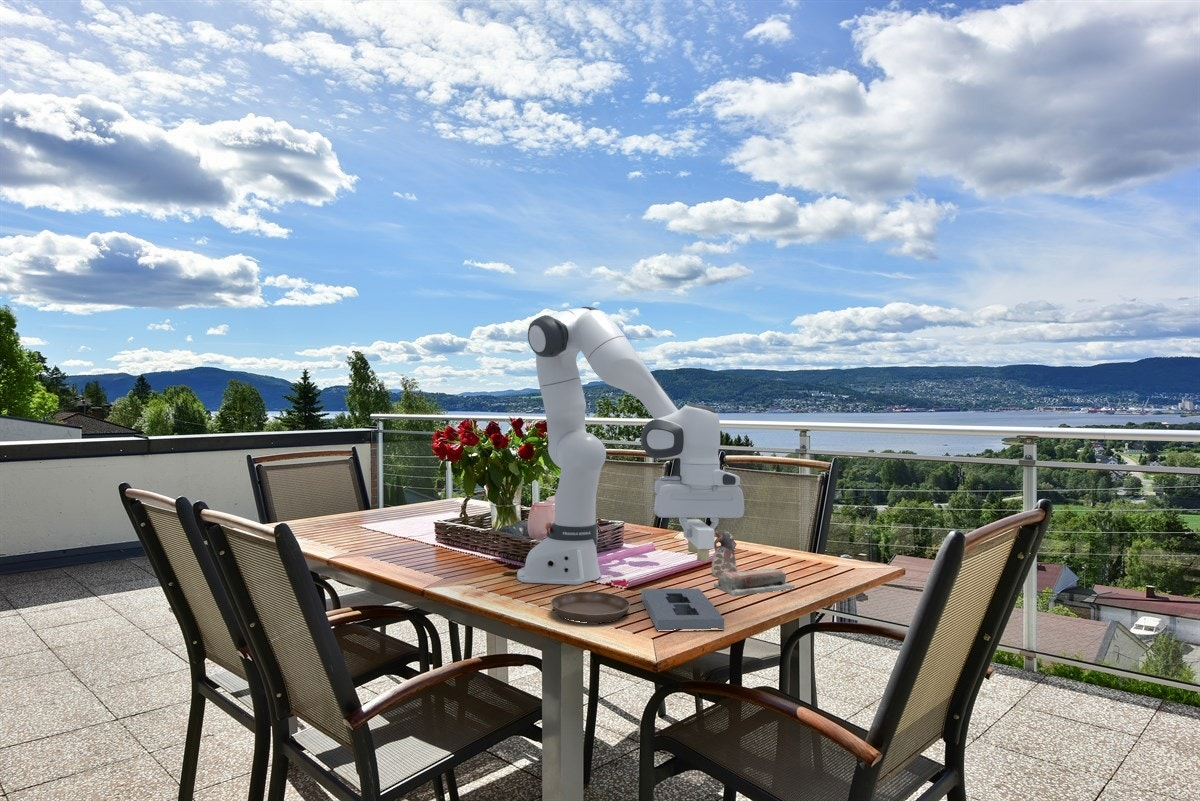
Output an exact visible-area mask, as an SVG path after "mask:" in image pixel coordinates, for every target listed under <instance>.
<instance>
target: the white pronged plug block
mask: <svg viewBox="0 0 1200 801" xmlns="http://www.w3.org/2000/svg"><path fill="white" fill-rule="evenodd" d="M684 523H685V525H686V527H687V529H691V530H692V533H691V535H692V536H691V538H685V539H686V540H687V551H688V552H690V553H696V556H697V557H696V560H697V561H698V562H709V561H710V550H715V547H714V542H715V540H716V539H715V536H716V534H715V532H716V529H712V528H711V527H710V525H708V524H707V523H705V522H704V521H702V520H701V519H700V518H698V519H697V518H696V519H695V518H694V519H693V518H687V522H684Z"/></svg>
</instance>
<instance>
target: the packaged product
mask: <svg viewBox="0 0 1200 801" xmlns="http://www.w3.org/2000/svg"><path fill="white" fill-rule="evenodd" d="M786 578H787V573H785V572H784V571H783V570H782V569H776V568H775V569H774V568H769V569H767V568H765V569H754V570H752V569H751V570H750V569H749V570H740V571H739V570H737V571H736V572H723V573H721V574H720V577H718V580H717V582H715V583H713V586H714V587H715V588H717V589H719V590H720V591H723V592H725V593H727V594H730V595H731V596H733V597H737V595H739V596H745V595H746V594H749V595H756V594H755V593H760V594H765V593H764V592H770V593H774V592H773V591H779V590H786V589H792V588H794V589H795V587H796V586H795V584H793V583H788V582H787V581H786ZM746 596H747V595H746Z"/></svg>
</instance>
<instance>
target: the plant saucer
mask: <svg viewBox="0 0 1200 801" xmlns="http://www.w3.org/2000/svg"><path fill="white" fill-rule="evenodd" d="M550 605H551V606H552V608H553V610H554V611H555V613H557V615H558V616H559V617H560V616H561V617H560V618H562V617H563V618H566V619H569V620H574V621H580V622H587V623H600V622H608V623H610V622H609V621H613V620H616V619H618V620H619V618H620V619H621V618H622V617H623V616H624V615H625V614H626V612H627V611H628V610H629V608H630V607H631V602H630V601H629V600H628V599H626V598H625V597H622V596H620V595H617V594H613V593H608V592H600V591H599V592H598V591H575V592H566V593H563V594H558V595H556V596H554V597H553V598H551V600H550ZM563 618H562V619H563ZM616 621H617V620H616ZM613 622H614V621H613Z"/></svg>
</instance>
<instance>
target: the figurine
mask: <svg viewBox="0 0 1200 801" xmlns="http://www.w3.org/2000/svg"><path fill="white" fill-rule="evenodd" d="M715 536H716V537H717V538H716V539H714V554H713V557H712V561H711V575H712V576H713V577H716V578H719V577H720V574H721V573H723V572H736V571H738V567H737V561H736V555H735V552H736V546H737V545H738V544H737V543H736V541H735V539H734V536H733V535H732V534H731V533H730V532H729V531H725V530H724V531H723V532H722V534H721V533H720V531H719V530H715ZM718 543H720V546H717V544H718Z"/></svg>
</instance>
